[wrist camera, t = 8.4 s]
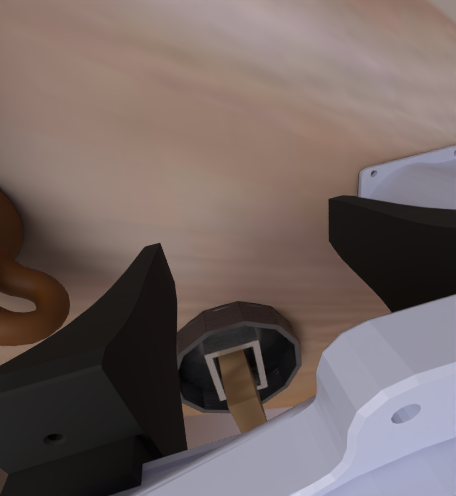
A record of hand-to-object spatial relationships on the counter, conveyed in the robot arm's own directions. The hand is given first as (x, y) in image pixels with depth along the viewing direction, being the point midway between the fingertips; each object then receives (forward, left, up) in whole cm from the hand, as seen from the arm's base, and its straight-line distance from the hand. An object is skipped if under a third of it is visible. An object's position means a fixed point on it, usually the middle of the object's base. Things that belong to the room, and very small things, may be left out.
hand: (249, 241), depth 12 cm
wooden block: (+2, +18, -10) cm, 20 cm away
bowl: (+2, +18, -10) cm, 21 cm away
